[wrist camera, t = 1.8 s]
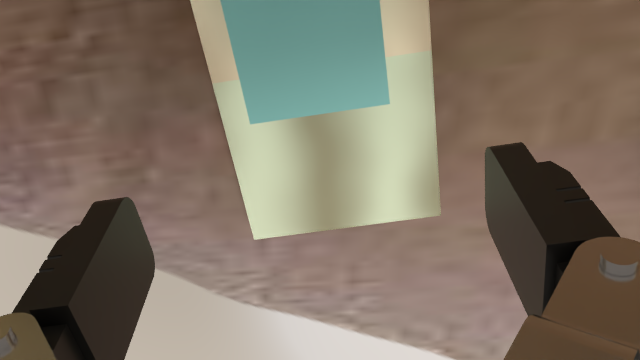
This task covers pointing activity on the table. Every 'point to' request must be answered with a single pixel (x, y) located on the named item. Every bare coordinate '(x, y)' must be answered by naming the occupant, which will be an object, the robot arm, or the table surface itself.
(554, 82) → the table surface
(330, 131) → the tunnel track
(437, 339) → the table surface
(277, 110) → the teal block
